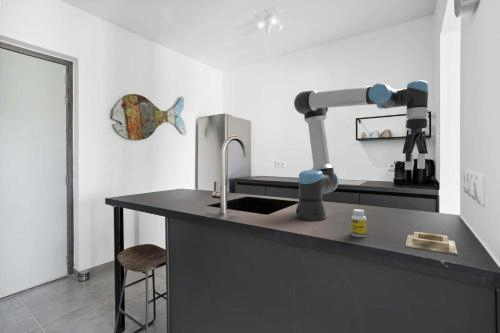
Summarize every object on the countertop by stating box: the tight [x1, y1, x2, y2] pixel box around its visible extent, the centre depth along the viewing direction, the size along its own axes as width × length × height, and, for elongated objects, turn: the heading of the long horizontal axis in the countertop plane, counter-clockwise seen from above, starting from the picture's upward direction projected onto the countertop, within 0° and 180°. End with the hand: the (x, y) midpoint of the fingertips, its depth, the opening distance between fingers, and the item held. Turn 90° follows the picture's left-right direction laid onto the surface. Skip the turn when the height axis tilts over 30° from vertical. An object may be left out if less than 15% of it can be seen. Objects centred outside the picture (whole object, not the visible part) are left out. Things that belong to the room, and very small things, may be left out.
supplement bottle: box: [350, 208, 367, 238], centre depth 103 cm, size 5×5×10 cm
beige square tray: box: [404, 231, 458, 256], centre depth 92 cm, size 14×14×2 cm
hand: (415, 169), depth 114 cm, fingers open, 13 cm apart
